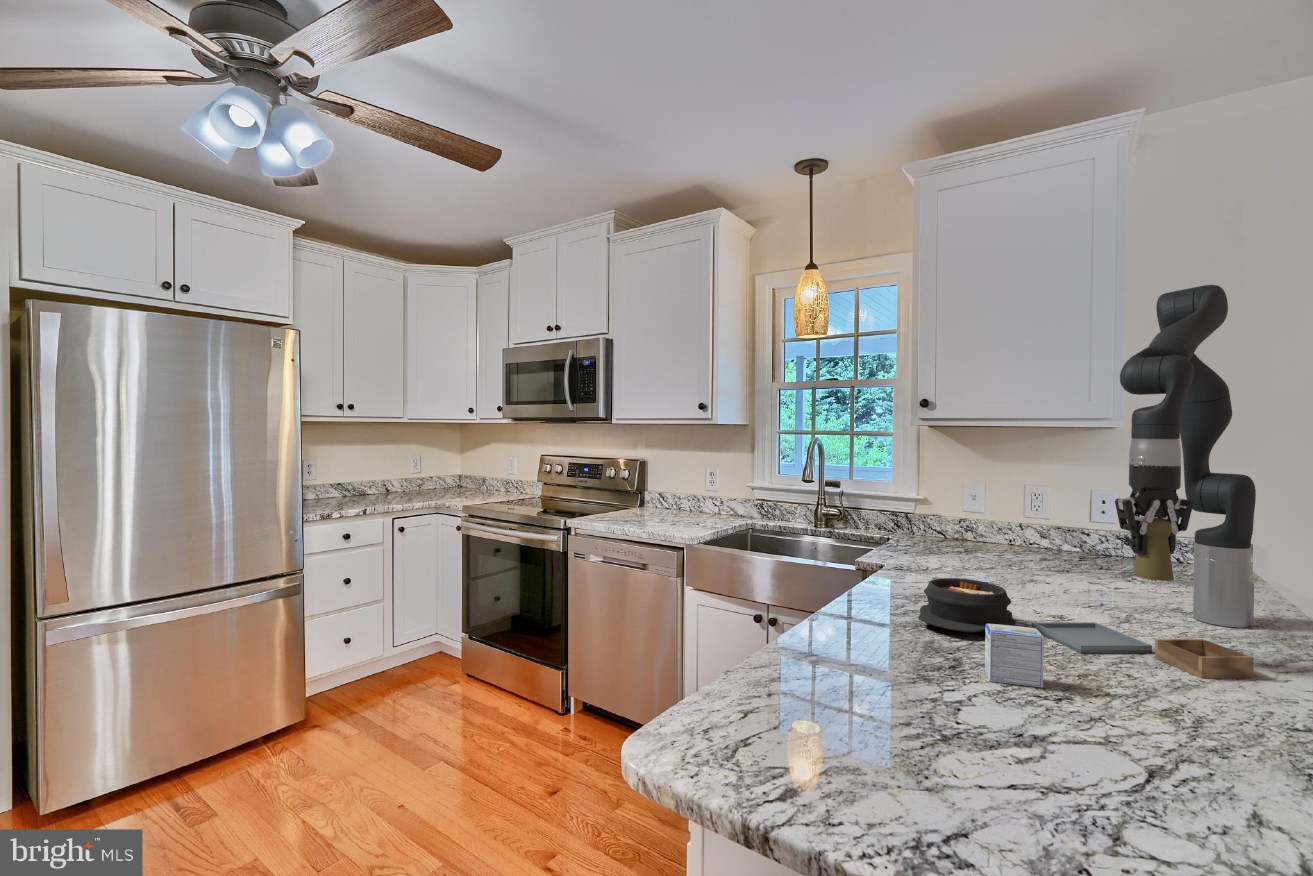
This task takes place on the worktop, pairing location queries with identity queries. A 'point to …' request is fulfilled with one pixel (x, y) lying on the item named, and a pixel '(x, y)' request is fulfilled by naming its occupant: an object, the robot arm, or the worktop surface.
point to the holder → (1204, 658)
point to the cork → (1155, 553)
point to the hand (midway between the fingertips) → (1152, 553)
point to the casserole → (965, 605)
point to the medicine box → (1014, 655)
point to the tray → (1091, 638)
